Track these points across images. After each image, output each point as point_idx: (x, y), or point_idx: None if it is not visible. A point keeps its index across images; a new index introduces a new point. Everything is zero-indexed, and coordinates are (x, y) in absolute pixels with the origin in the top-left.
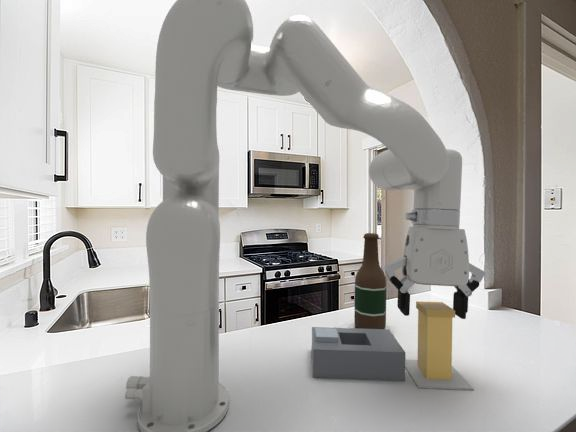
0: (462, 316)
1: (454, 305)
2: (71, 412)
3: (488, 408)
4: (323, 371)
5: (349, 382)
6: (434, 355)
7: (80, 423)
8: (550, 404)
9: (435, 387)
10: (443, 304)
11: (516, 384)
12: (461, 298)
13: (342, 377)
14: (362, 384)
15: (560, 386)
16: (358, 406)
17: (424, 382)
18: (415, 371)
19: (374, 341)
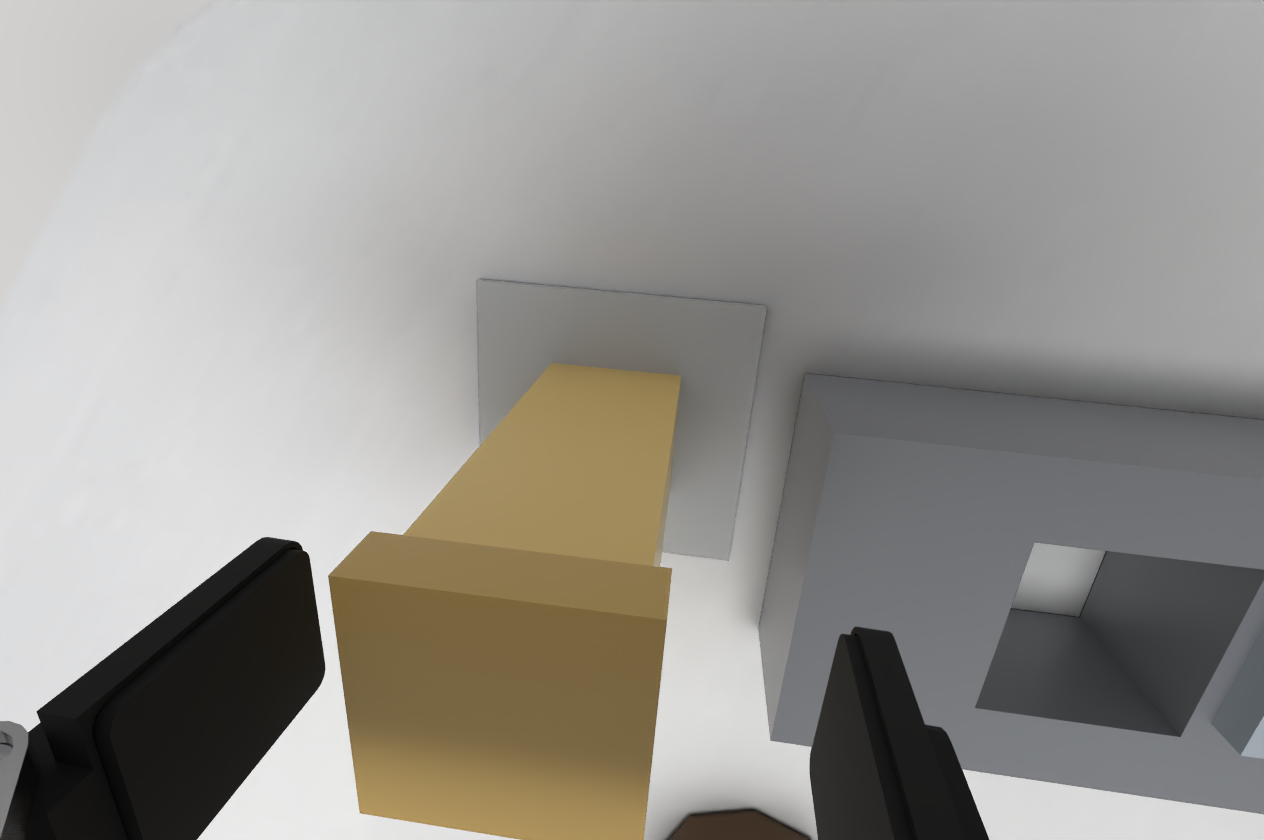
0: (282, 554)
1: (267, 724)
2: None
3: (488, 125)
4: None
5: (1144, 371)
6: (625, 417)
7: None
8: (173, 159)
9: (674, 298)
10: (377, 751)
11: (243, 325)
12: (131, 714)
13: (1171, 413)
14: (1073, 349)
15: (51, 303)
16: (1216, 140)
17: (712, 342)
18: (707, 443)
19: (976, 593)
